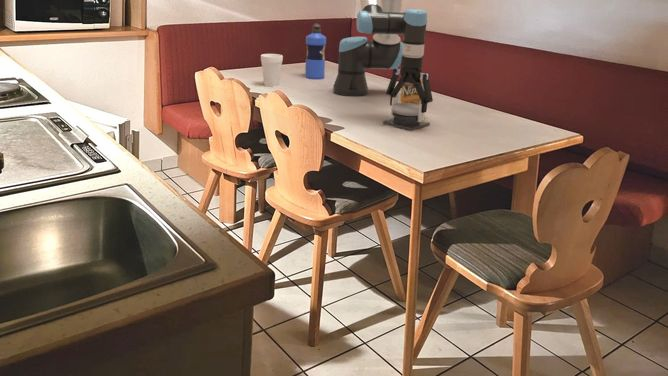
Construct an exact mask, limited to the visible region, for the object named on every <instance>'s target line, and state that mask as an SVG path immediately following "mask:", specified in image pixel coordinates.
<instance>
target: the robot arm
mask: <svg viewBox="0 0 668 376" xmlns="http://www.w3.org/2000/svg"><path fill="white" fill-rule="evenodd" d="M359 2H360V3H359V4H360V9H361V10H360V11H358V12H357V15H356V30H357V32H359V33H361V34H368V35H369V34H371V35H372V34H373V36H372V40H368V37H367V36H351V37H345V38H342V39H341V40H340V42H339V46H338V47H339V48H338V66H337V68H338V69H337V75H336V78H335V81H334V83H333V88H332V92H333V93H334V94H336V95H341V96H346V97H347V96H348V97H349V96H350V97H360V96H361V97H363V96H366V95H368V94H369V86H368V83H367V79H366V69H370V70H371V69H372V70H373V69H374V70H392V76H391V79H390V80H389V81H390V82H389V83H388V85H387V87H386V91H385V94H386V95H388V96H389V97H390V100H389V105H390V106H391V111H390V116H392V117H394V113H393V112H392V107H393V105H394V104H397V103H399V102H398V101H399V96H398V94H399V92H400V91H401V90H402V87H403V85H404V84H405V83H408V82H409V83H411V84H413V85H414V86H415V88H416V90H417V93H418V95H419V98H420V100H421V102H422V103H419V113H418V122H421V121H425V120H424V119H425V113H427V109H428V104H429V103H431V102H433V101H434V99H433V94H432V93H433V92H432V88H431V83H430V73H423V65H424V64H423V63H424V57H423V56H424V55H425V44H426V43H425V42H426V32H427V23H428V13H427V11H426V10H424V9H417V8H414V9H413V8H412V9H411V8H409V9H406V11H403V12H401V11H402V5H403V0H359ZM399 35H402V36H403V37H402V40H401V36H399ZM400 66H401V67H400ZM399 67H400V68H399ZM400 76H401V77H400ZM399 77H400V79H399ZM421 77H422V78H421ZM420 78H421V79H422V82H423V87H424V90H423V87H422V85H421V84H422V83H421V80H420ZM398 79H399V80H398Z"/></svg>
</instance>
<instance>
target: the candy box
mask: <svg viewBox="0 0 668 376" xmlns="http://www.w3.org/2000/svg"><path fill="white" fill-rule="evenodd" d="M421 78H422V77H421ZM421 78H420V80H421V83H422V84H421V85H422V87H423V82H422V79H421ZM423 90H424V87H423ZM400 91H401V93H400V102H399V103H412V104H418V105H419V103H422V102H421V100H420V98H419V95H418V93H417V90H416V88H415V86H414V85H413V84H411V83H409V82H408V83H405V84H404V85H403V87H402V88H401V90H400Z"/></svg>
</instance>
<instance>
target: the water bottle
mask: <svg viewBox="0 0 668 376" xmlns="http://www.w3.org/2000/svg"><path fill="white" fill-rule="evenodd" d="M321 27H322V26H321V25H320V24H319V23H314V24H313V25H312V28H311V33H310V34H308V35H306V36H305V44H306V56H305V72H304V73H305V74H304V75H305V77H306V78H305V79H308V80H324V79H325V70H326V69H325V68H326V65H325V64H326V57H325V52H326V51H325V50H326V44H327V36H325V35H324V34H322V28H321Z"/></svg>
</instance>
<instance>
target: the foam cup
mask: <svg viewBox="0 0 668 376" xmlns="http://www.w3.org/2000/svg"><path fill="white" fill-rule="evenodd" d="M283 60H284V56H283V55H282V54H280V53H279V54H277V53H263V54H260V62H261V70H262V77H263V85H264V84H265V85H267V86H266V87H270V86H275V87H278V85H279V86H280V80H281V73H282V66H283V62H284V61H283ZM265 85H264V86H265Z"/></svg>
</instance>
